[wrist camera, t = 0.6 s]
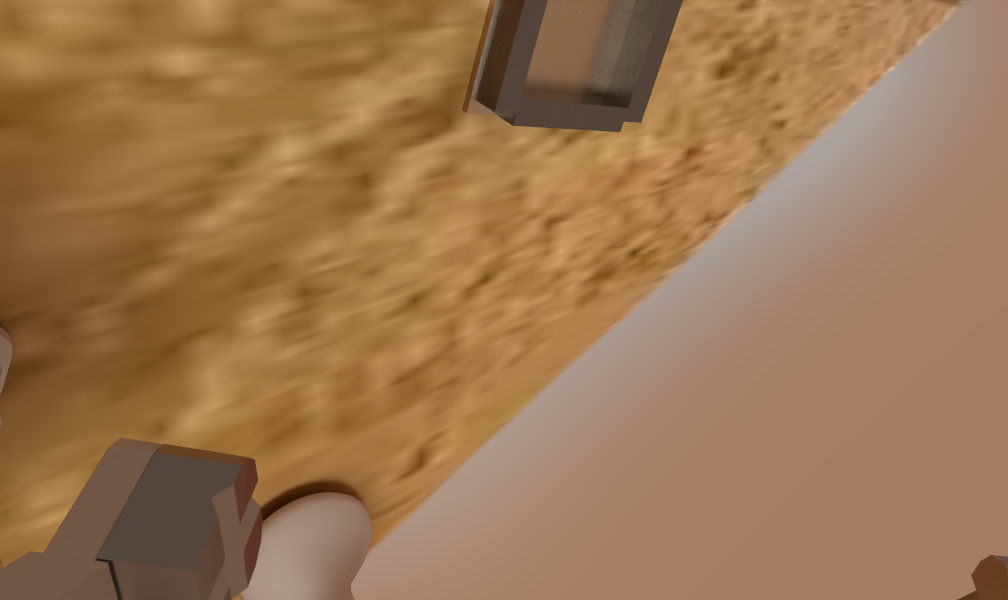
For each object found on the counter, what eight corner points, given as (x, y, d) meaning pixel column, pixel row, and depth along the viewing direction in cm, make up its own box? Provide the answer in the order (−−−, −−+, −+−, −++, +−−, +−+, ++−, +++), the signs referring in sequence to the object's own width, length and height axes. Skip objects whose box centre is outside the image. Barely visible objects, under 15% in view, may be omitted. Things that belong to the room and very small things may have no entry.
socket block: (612, 120, 71) (638, 135, 69) (462, 110, 62) (488, 127, 60) (674, -72, 65) (705, -61, 63) (519, -113, 56) (549, -102, 54)
